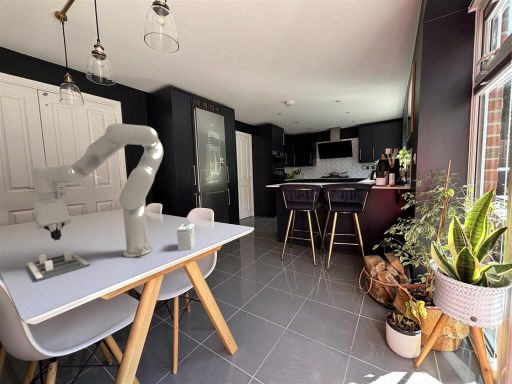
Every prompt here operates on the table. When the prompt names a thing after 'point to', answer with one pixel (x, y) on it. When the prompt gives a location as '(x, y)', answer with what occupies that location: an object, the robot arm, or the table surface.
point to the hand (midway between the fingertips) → (56, 239)
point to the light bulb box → (186, 236)
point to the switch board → (56, 266)
